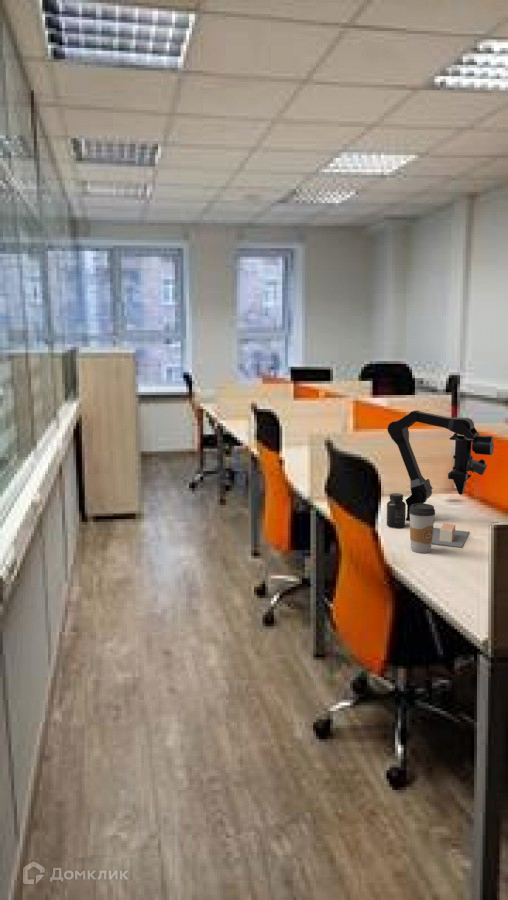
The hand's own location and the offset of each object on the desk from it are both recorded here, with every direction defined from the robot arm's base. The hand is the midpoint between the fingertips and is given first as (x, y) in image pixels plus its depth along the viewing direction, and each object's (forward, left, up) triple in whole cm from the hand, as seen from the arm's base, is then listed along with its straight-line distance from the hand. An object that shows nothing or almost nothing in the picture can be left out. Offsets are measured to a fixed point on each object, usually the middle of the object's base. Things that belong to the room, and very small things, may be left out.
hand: (460, 494), depth 248 cm
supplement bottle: (-21, -10, -12) cm, 27 cm away
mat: (-2, -17, -12) cm, 21 cm away
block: (-1, -15, -10) cm, 18 cm away
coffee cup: (-7, -35, -12) cm, 38 cm away
